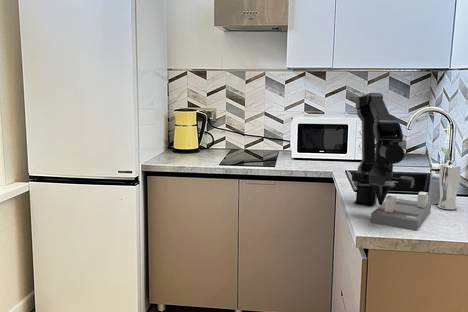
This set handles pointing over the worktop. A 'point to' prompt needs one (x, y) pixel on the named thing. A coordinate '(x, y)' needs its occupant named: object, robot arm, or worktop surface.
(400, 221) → the switch panel
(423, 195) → the off-white block
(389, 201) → the off-white switch lever
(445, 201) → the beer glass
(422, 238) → the worktop surface
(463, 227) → the worktop surface
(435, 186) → the light bulb box
